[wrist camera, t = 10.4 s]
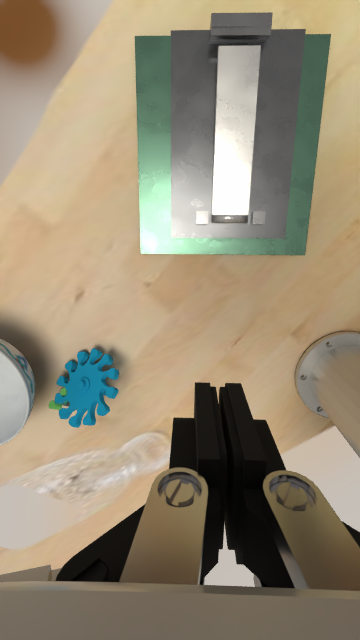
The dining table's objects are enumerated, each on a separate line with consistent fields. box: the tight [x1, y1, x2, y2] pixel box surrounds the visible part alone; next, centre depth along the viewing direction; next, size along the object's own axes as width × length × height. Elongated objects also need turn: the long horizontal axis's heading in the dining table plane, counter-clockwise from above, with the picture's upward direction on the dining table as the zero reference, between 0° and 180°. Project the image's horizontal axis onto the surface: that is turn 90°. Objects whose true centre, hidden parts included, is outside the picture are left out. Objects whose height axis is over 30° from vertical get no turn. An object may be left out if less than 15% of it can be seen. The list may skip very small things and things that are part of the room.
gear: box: [49, 348, 119, 427], centre depth 41 cm, size 11×6×10 cm
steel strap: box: [211, 45, 261, 223], centre depth 29 cm, size 4×14×1 cm, turn 0°
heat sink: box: [135, 13, 331, 255], centre depth 31 cm, size 20×22×8 cm
